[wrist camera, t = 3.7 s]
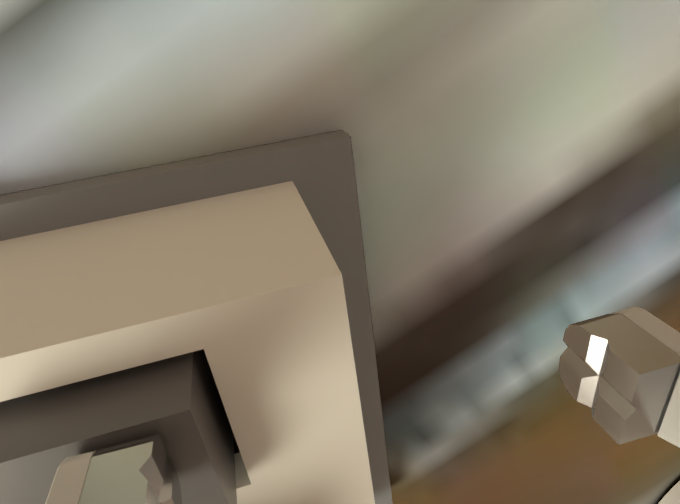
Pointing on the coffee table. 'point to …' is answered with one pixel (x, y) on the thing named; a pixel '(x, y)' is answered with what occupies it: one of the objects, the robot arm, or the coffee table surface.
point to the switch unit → (213, 303)
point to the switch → (122, 428)
